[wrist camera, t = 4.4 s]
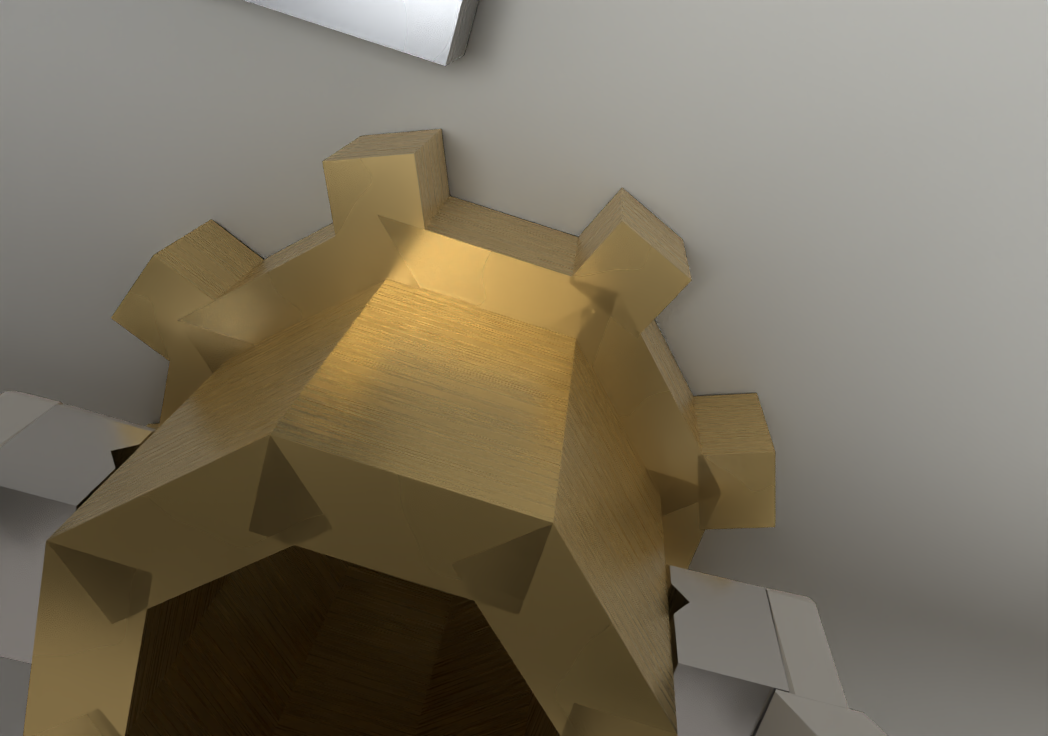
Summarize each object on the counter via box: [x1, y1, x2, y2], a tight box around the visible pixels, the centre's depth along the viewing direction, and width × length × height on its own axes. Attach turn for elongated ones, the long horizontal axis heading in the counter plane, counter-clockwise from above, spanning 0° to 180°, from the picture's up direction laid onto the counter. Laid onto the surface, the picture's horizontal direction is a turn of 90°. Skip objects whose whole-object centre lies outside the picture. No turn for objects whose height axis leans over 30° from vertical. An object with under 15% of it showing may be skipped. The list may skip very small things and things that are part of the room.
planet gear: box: [23, 129, 775, 736], centre depth 10 cm, size 7×7×5 cm
